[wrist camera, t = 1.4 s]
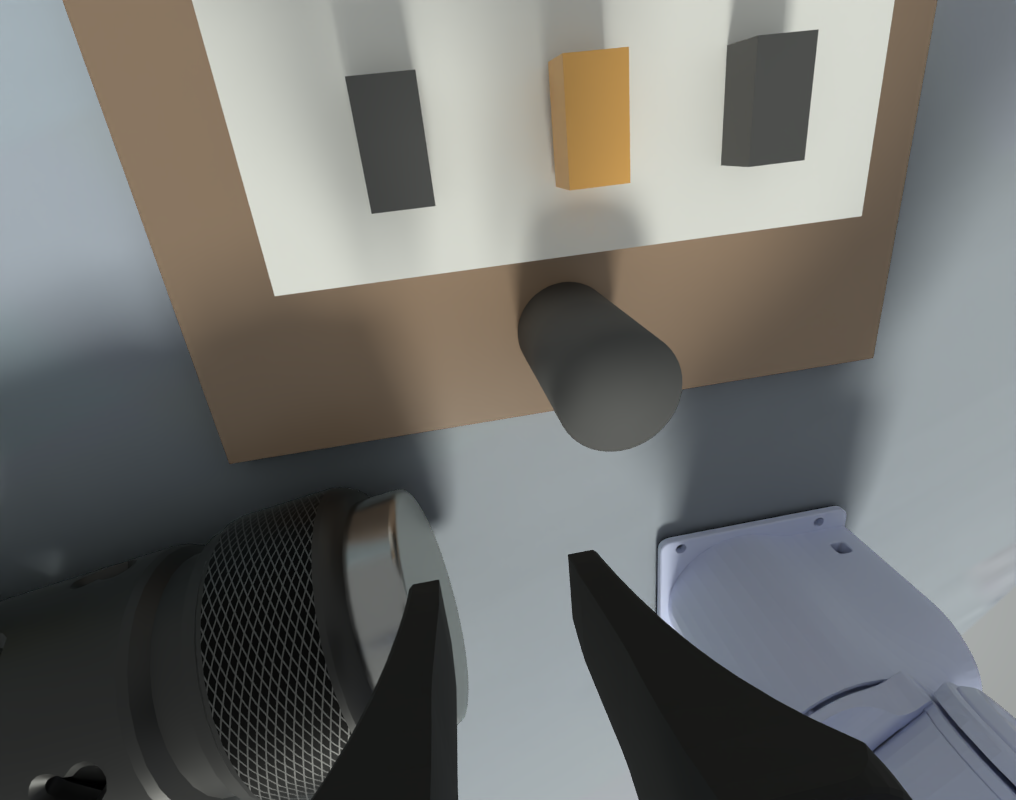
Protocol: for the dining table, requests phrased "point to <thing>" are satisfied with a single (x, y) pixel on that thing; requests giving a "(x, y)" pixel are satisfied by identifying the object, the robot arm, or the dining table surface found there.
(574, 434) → the post
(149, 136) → the breaker panel
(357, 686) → the muzzle brake
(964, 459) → the dining table surface
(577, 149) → the orange block
